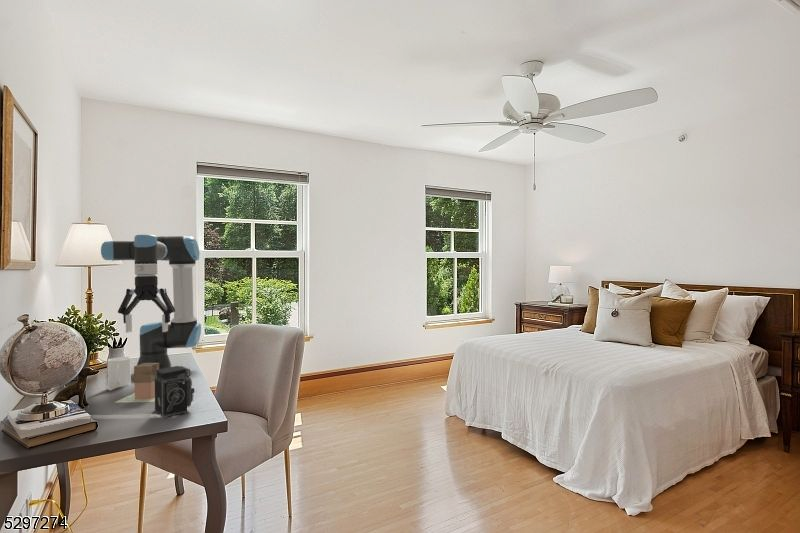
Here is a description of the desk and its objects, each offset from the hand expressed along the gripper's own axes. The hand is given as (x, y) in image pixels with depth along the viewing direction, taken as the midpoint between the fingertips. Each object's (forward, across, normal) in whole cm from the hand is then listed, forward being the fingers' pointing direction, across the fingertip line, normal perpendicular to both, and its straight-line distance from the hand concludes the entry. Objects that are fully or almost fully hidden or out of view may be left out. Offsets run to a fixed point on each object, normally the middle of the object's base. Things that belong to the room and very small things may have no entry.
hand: (147, 331), depth 172 cm
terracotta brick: (+24, +1, -3) cm, 24 cm away
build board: (+25, +1, -3) cm, 25 cm away
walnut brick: (+18, +1, -3) cm, 18 cm away
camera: (+25, +19, -19) cm, 37 cm away
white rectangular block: (+26, -20, +14) cm, 35 cm away
